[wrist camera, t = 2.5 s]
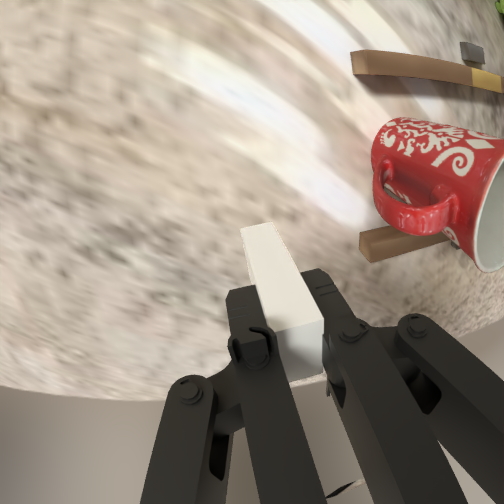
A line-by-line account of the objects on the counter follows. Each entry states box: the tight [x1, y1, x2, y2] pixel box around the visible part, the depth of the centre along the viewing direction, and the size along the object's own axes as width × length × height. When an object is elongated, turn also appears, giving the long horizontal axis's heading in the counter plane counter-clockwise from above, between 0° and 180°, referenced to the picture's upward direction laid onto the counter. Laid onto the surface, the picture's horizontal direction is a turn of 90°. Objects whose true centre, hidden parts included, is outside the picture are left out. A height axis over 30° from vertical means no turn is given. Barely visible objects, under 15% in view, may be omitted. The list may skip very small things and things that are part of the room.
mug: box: [371, 118, 504, 273], centre depth 18 cm, size 13×9×14 cm
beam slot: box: [350, 42, 504, 263], centre depth 23 cm, size 25×34×2 cm
